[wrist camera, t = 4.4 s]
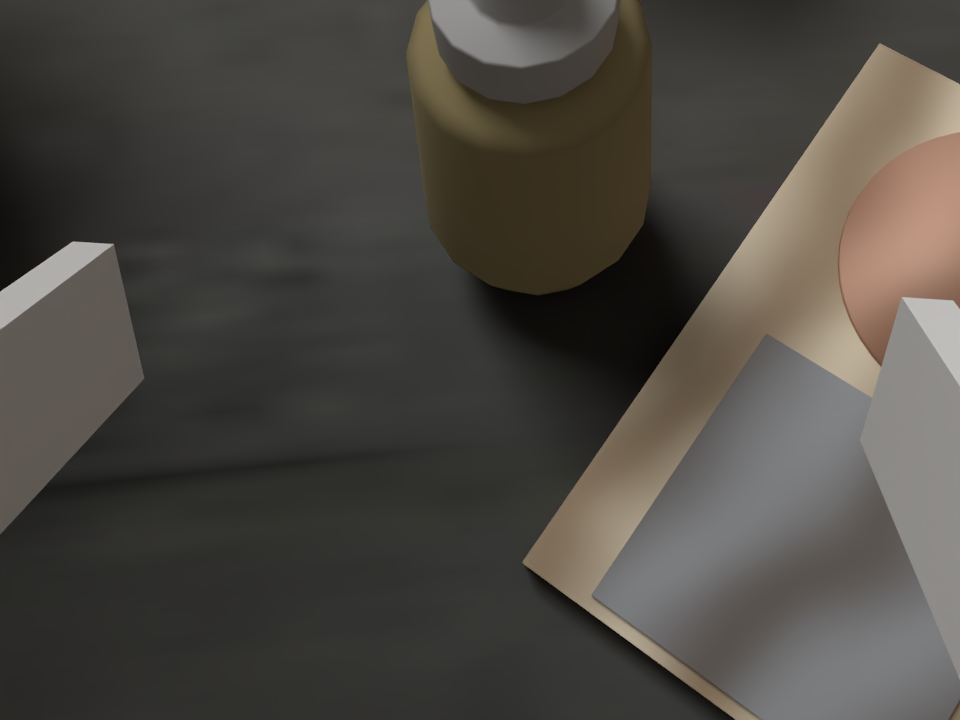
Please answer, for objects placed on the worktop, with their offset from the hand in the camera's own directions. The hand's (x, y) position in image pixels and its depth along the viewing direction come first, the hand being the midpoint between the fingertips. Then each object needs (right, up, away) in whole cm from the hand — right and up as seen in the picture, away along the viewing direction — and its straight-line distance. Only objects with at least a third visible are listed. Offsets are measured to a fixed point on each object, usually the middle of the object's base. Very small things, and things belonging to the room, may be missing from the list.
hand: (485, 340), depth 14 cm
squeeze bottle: (+2, +5, +19) cm, 20 cm away
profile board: (+15, -2, +16) cm, 22 cm away
